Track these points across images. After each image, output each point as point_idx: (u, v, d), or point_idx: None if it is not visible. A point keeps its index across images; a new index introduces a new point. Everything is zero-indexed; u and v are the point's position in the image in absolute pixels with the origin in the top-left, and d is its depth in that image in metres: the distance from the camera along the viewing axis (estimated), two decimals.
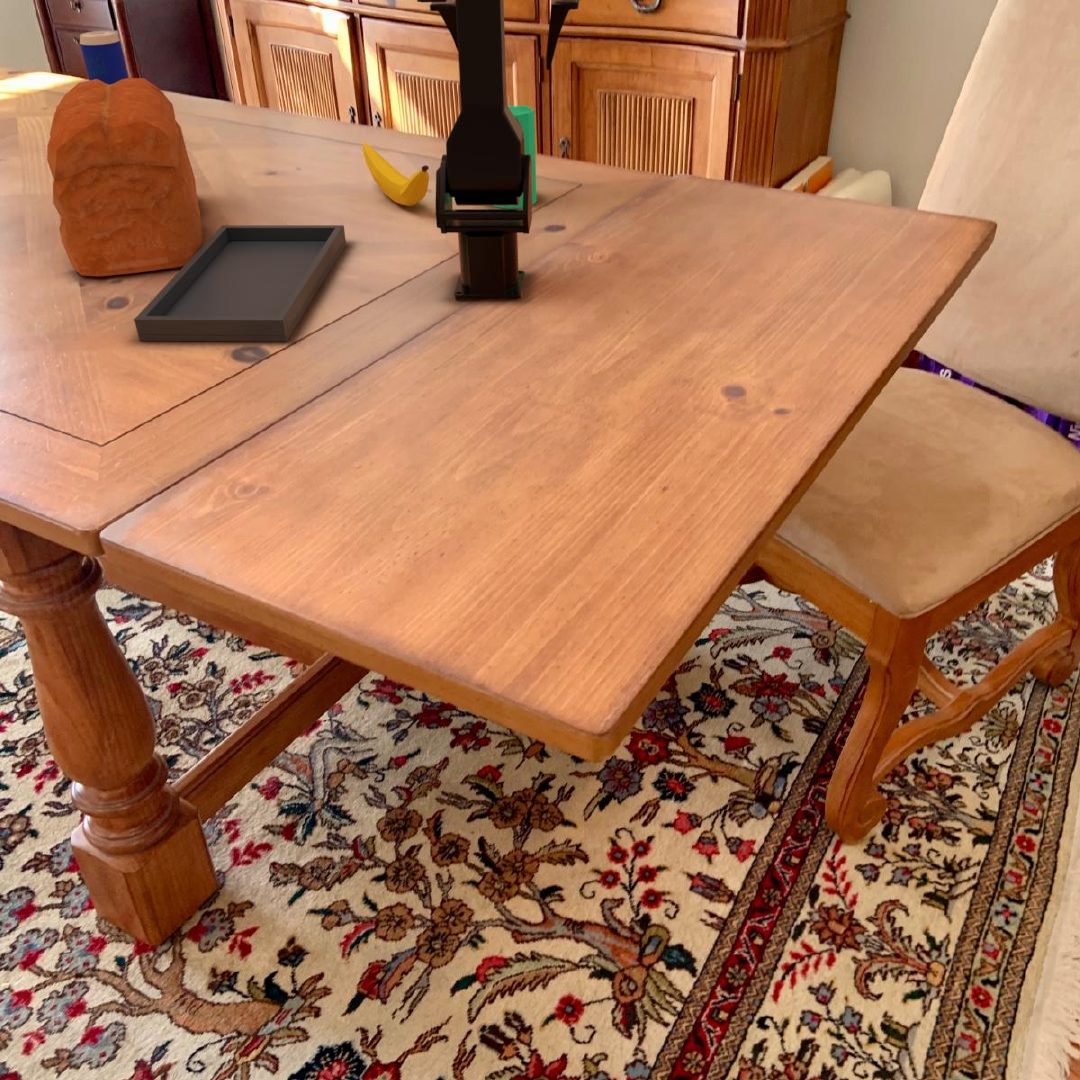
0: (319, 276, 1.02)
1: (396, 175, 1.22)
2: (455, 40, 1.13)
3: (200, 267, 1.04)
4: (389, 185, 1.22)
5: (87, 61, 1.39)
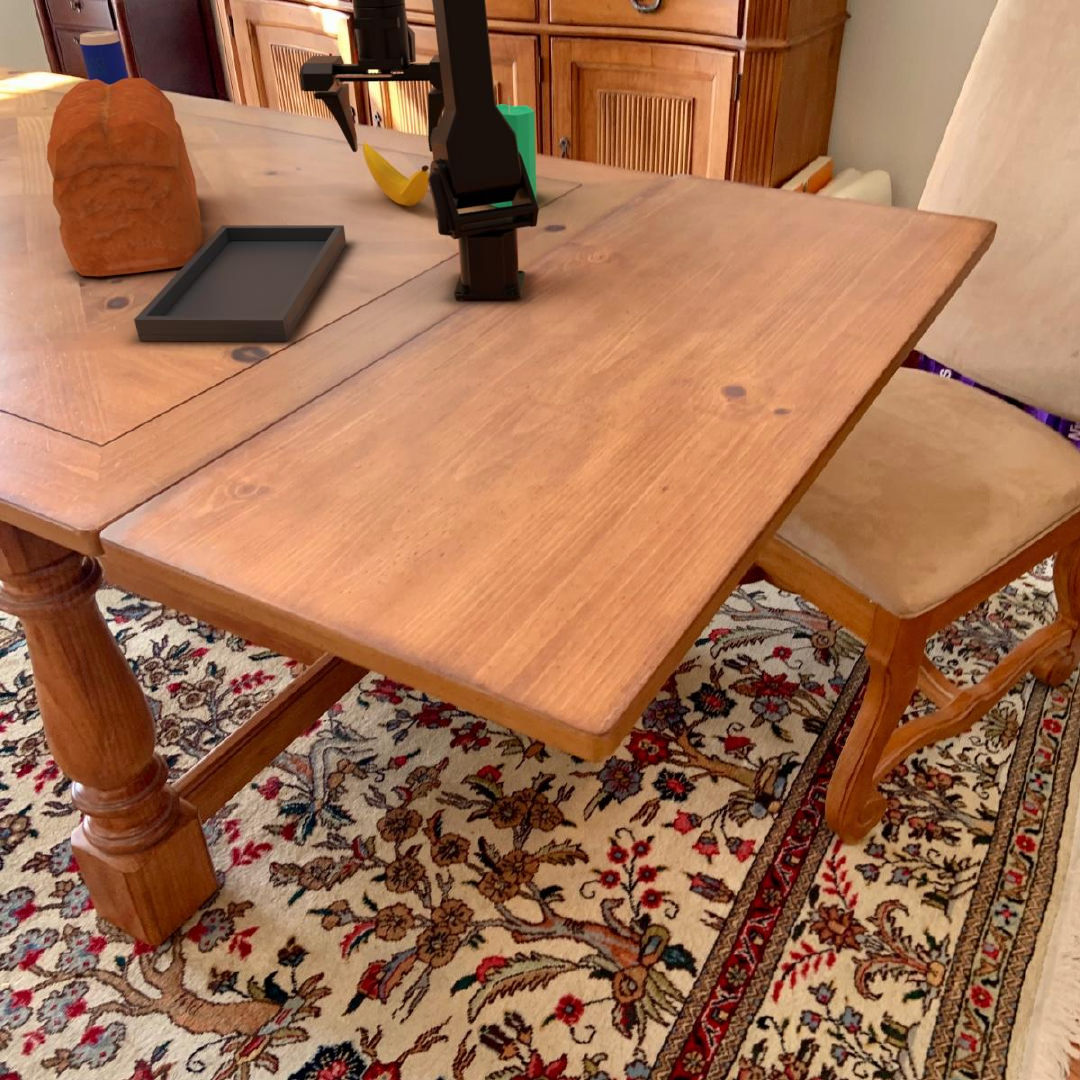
0: (319, 276, 1.02)
1: (396, 175, 1.22)
2: (340, 125, 1.18)
3: (200, 267, 1.04)
4: (389, 185, 1.22)
5: (87, 61, 1.39)
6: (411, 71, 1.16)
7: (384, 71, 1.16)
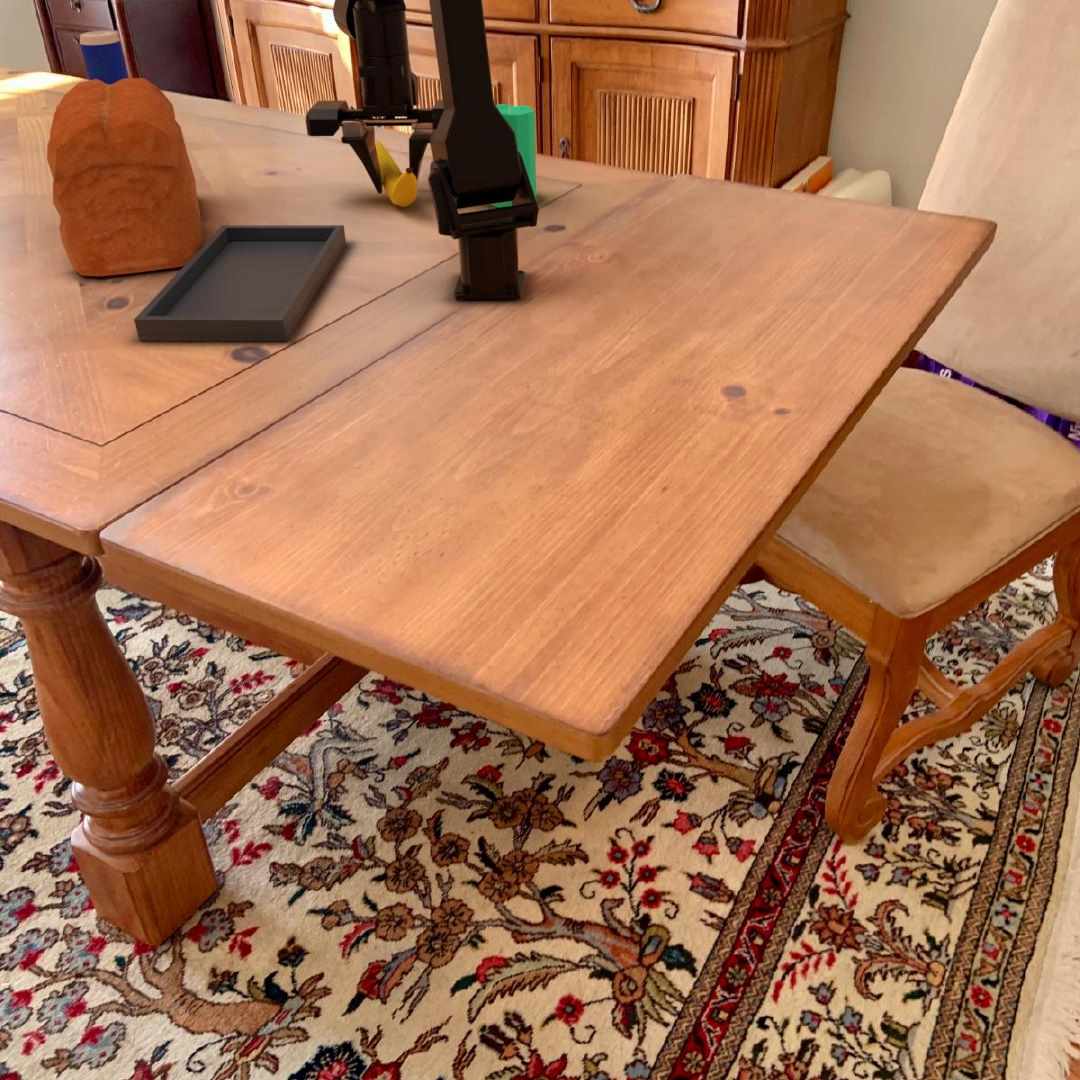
0: (319, 276, 1.02)
1: (394, 175, 1.22)
2: (366, 168, 1.21)
3: (200, 267, 1.04)
4: (387, 185, 1.22)
5: (87, 61, 1.39)
6: (392, 116, 1.19)
7: (410, 116, 1.18)
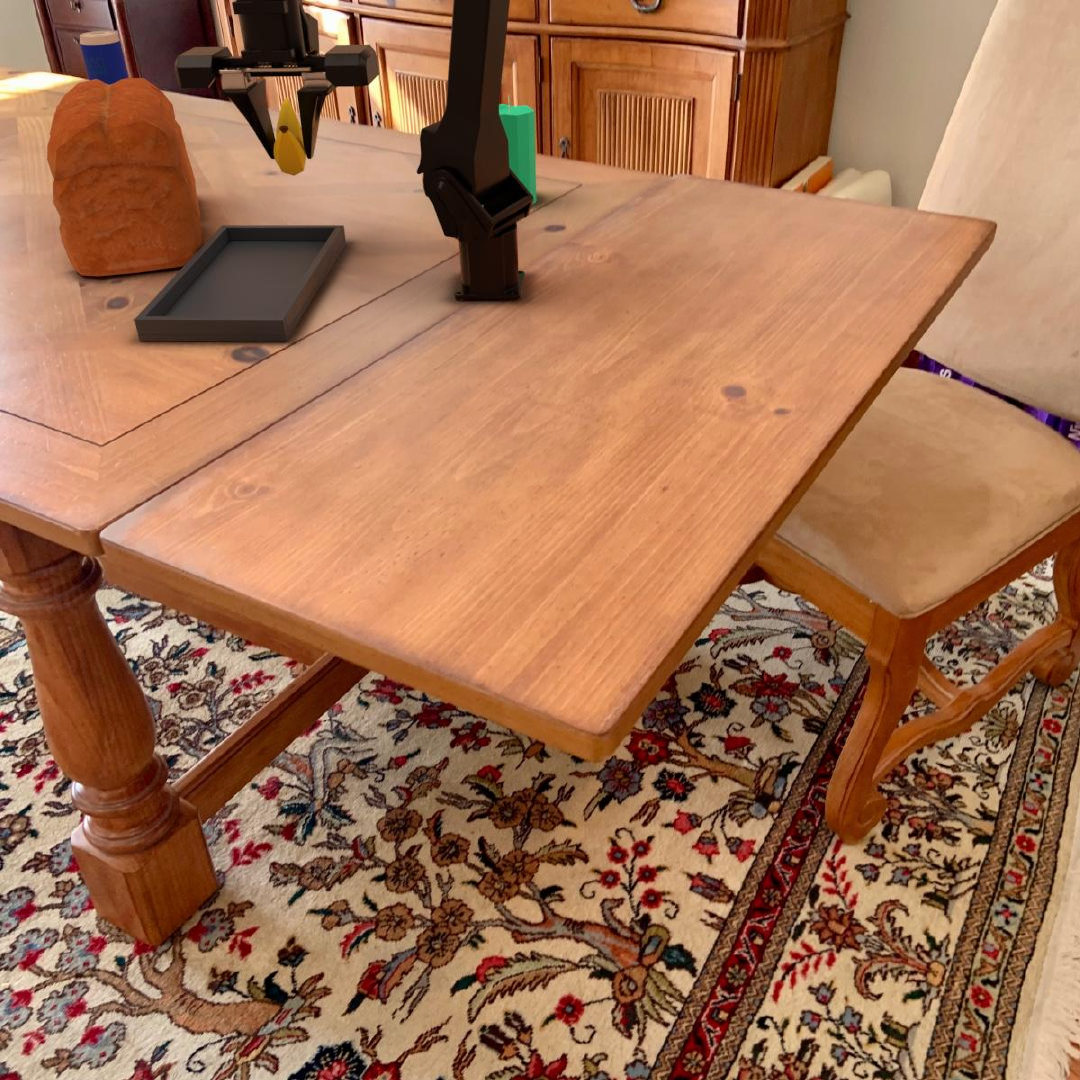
0: (319, 276, 1.02)
1: None
2: (253, 127, 1.01)
3: (200, 267, 1.04)
4: None
5: (87, 61, 1.39)
6: (279, 65, 0.98)
7: (302, 64, 0.98)
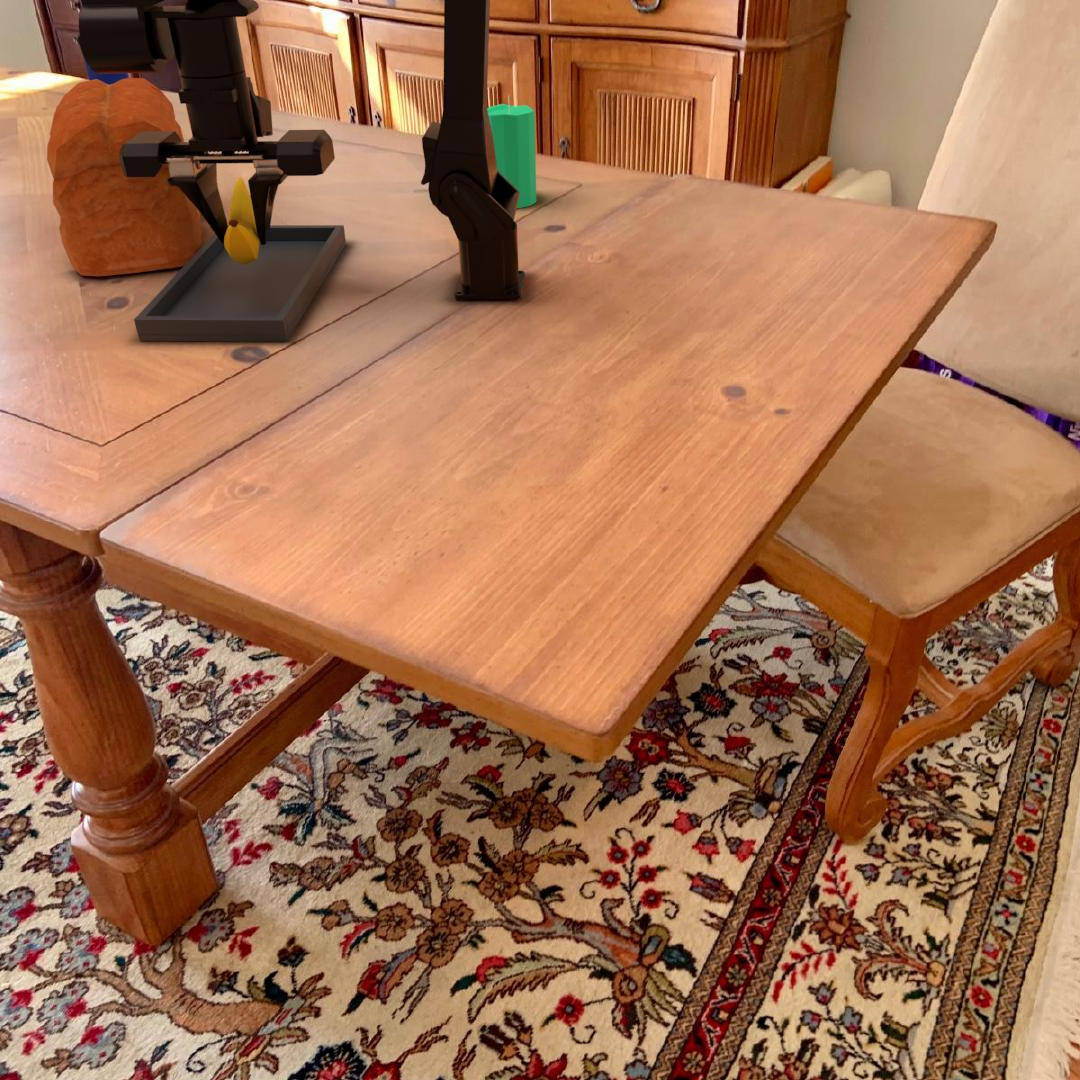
0: (319, 276, 1.02)
1: (239, 224, 0.98)
2: (204, 215, 0.97)
3: (200, 267, 1.04)
4: None
5: None
6: (229, 152, 0.94)
7: (254, 151, 0.94)
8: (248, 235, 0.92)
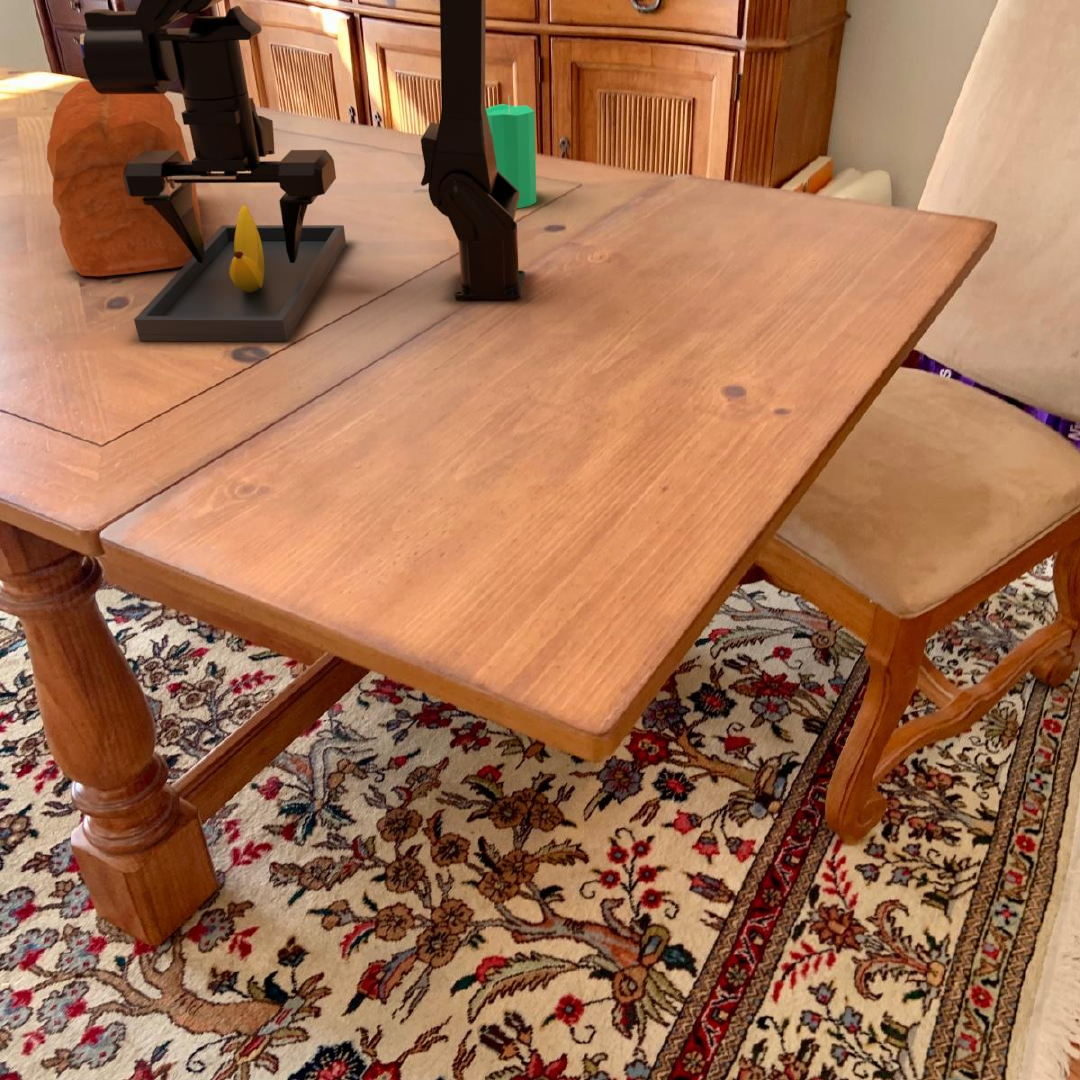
0: (319, 276, 1.02)
1: (244, 253, 1.00)
2: (179, 233, 0.98)
3: (200, 267, 1.04)
4: None
5: None
6: (260, 171, 0.95)
7: (228, 171, 0.95)
8: (253, 265, 0.94)
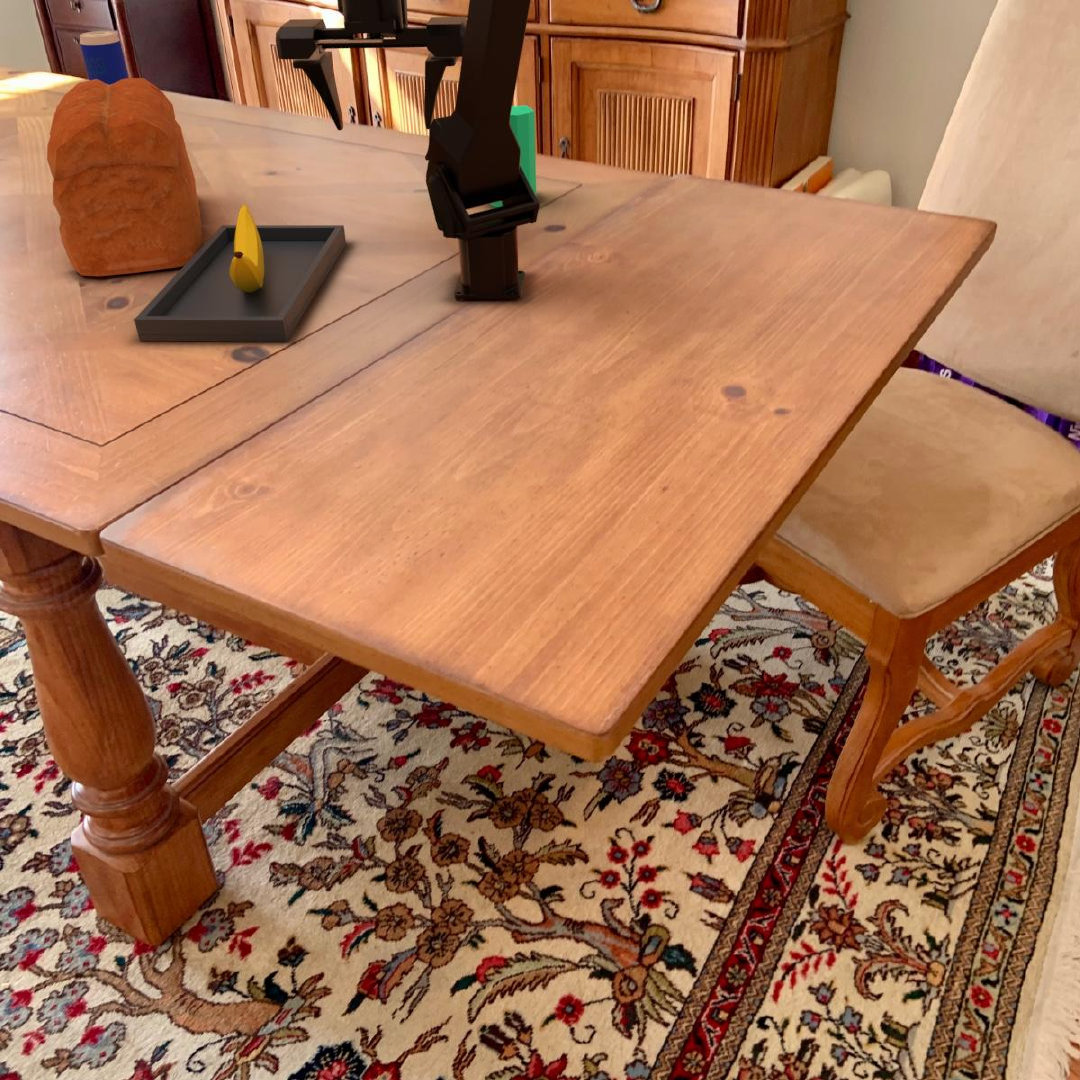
0: (319, 276, 1.02)
1: (244, 253, 1.00)
2: (323, 99, 1.03)
3: (200, 267, 1.04)
4: None
5: (87, 61, 1.39)
6: (405, 36, 1.01)
7: (373, 36, 1.01)
8: (253, 265, 0.94)
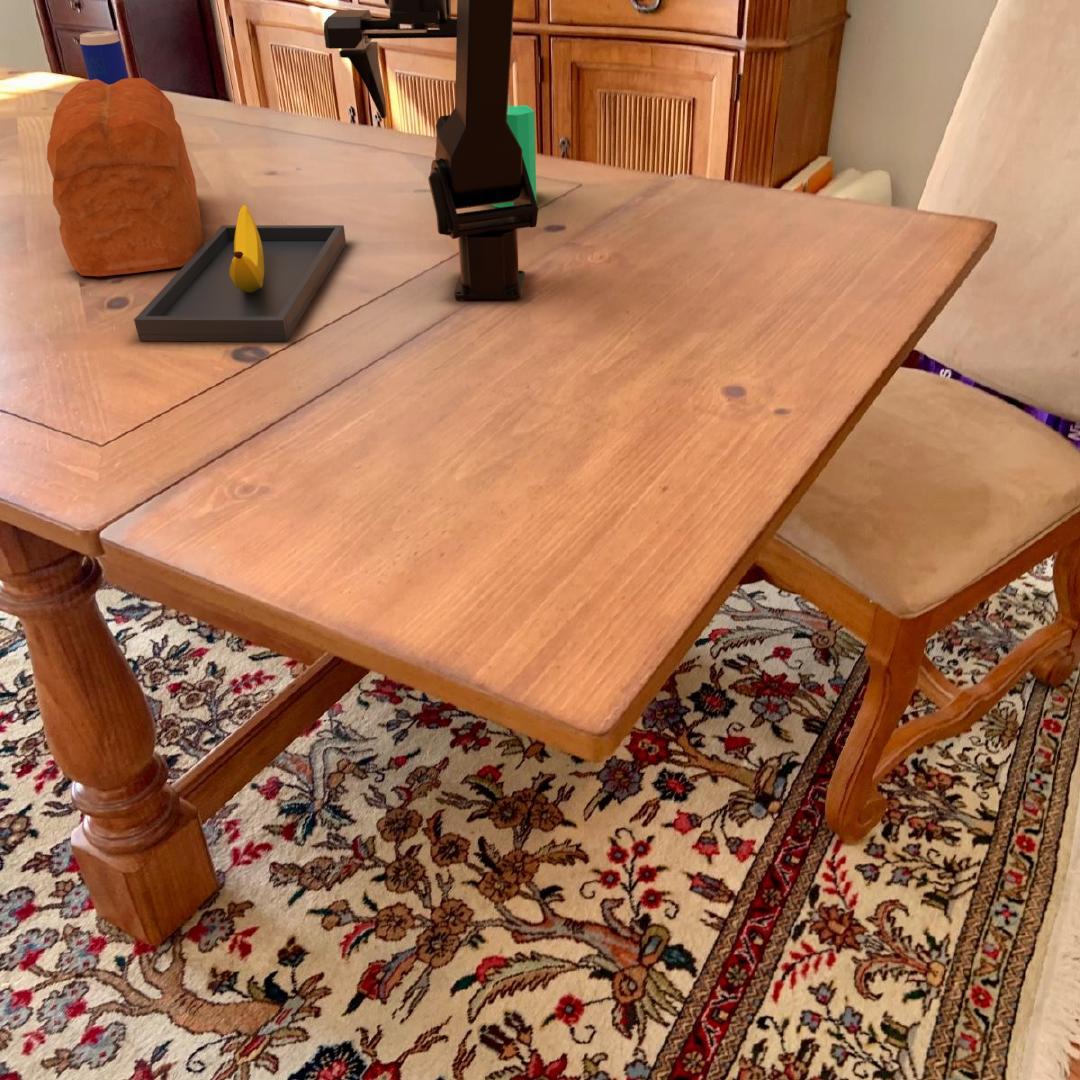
0: (319, 276, 1.02)
1: (244, 253, 1.00)
2: (368, 87, 1.06)
3: (200, 267, 1.04)
4: None
5: (87, 61, 1.39)
6: (448, 26, 1.04)
7: (418, 26, 1.04)
8: (253, 265, 0.94)
